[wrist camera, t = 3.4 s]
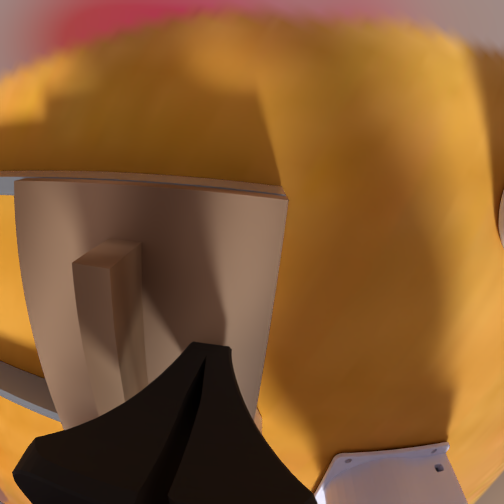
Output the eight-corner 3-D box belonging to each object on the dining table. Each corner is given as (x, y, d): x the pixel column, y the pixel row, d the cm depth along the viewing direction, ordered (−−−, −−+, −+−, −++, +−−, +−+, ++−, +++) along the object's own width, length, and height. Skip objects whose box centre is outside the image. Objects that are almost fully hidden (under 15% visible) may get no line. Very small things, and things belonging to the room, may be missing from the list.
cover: (286, 196, 10) (296, 216, 7) (243, 469, 15) (240, 517, 11) (26, 178, 10) (-30, 191, 7) (73, 432, 15) (52, 470, 11)
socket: (301, 188, 13) (309, 197, 11) (259, 433, 17) (258, 465, 15) (-47, 173, 13) (-74, 179, 11) (-12, 362, 17) (-29, 379, 15)
